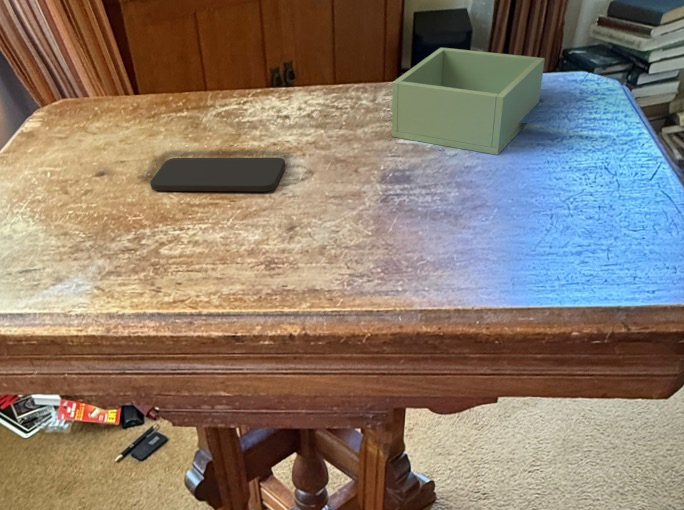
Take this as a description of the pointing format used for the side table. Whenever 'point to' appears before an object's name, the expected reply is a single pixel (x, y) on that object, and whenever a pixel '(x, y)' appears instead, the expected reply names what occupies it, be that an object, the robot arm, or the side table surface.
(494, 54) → the bin
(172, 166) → the phone
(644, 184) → the side table surface
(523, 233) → the side table surface
